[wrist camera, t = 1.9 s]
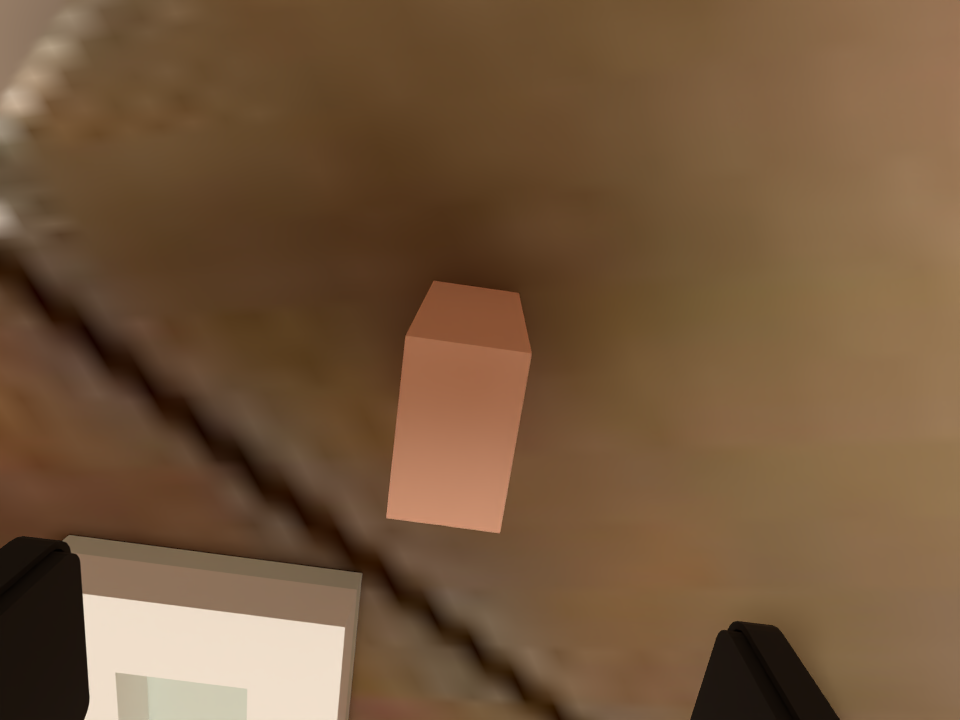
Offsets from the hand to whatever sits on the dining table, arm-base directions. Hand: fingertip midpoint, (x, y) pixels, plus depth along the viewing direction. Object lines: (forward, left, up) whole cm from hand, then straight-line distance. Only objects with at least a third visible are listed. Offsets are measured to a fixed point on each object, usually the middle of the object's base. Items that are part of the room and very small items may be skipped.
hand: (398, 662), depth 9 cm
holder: (+16, -9, -13) cm, 23 cm away
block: (-1, 0, -13) cm, 13 cm away
